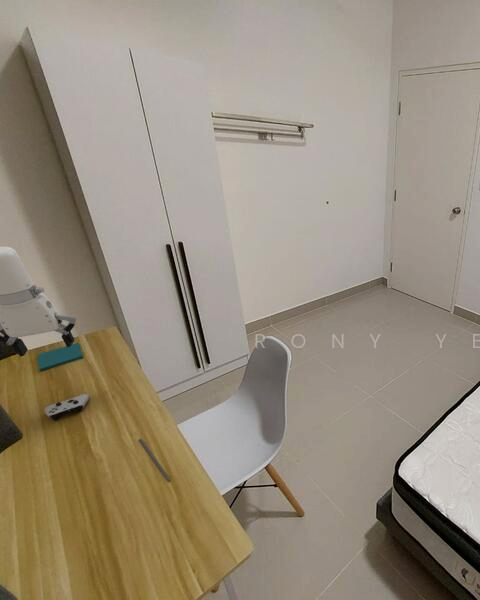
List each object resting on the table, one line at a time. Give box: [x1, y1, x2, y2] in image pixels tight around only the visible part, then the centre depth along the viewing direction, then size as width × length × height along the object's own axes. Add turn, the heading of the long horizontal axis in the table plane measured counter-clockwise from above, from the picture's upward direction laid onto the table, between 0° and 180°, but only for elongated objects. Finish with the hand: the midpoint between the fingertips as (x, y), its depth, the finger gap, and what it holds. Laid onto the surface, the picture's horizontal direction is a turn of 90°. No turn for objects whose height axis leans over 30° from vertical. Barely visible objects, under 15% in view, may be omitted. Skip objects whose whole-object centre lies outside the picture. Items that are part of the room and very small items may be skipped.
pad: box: [36, 342, 84, 372], centre depth 118 cm, size 11×11×1 cm
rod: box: [138, 438, 172, 483], centre depth 85 cm, size 1×19×1 cm, turn 53°
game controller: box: [44, 393, 90, 422], centre depth 97 cm, size 10×5×6 cm
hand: (48, 348), depth 92 cm, fingers open, 9 cm apart
